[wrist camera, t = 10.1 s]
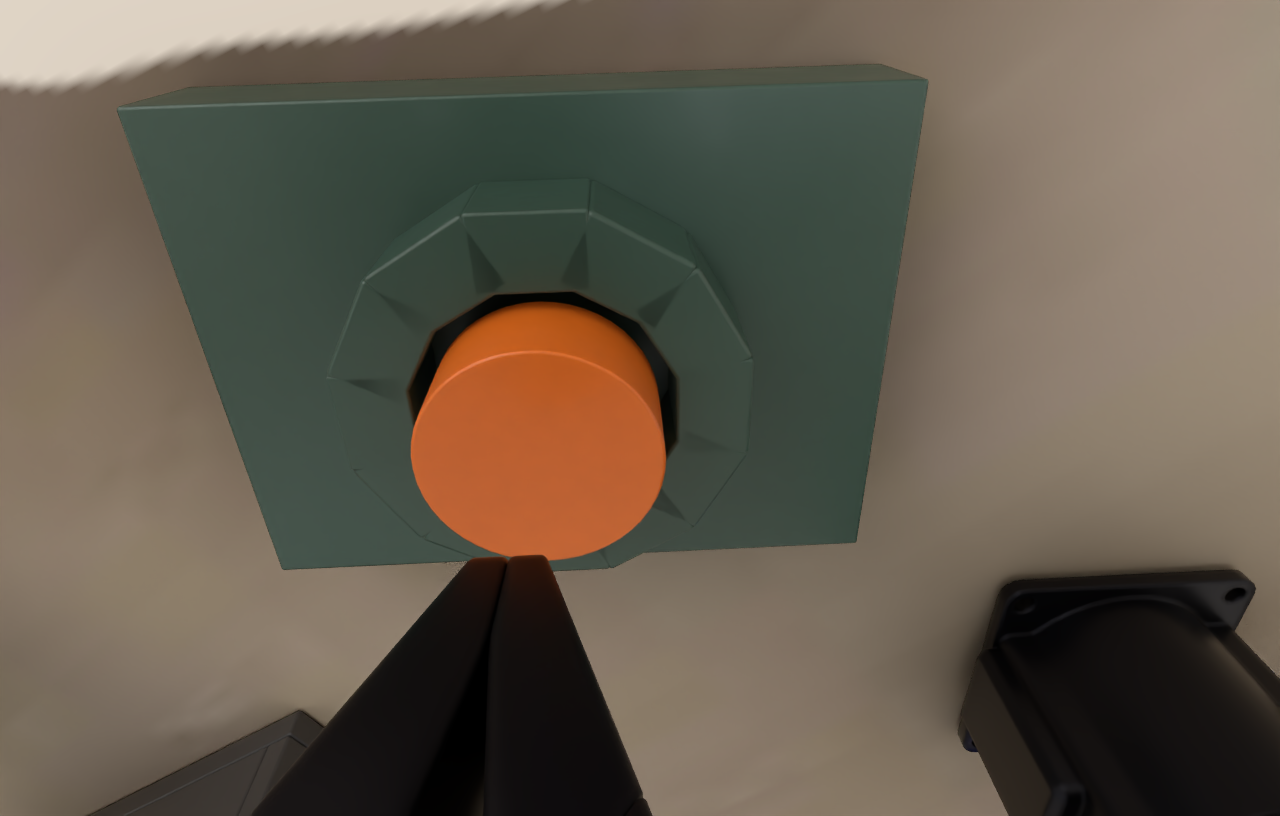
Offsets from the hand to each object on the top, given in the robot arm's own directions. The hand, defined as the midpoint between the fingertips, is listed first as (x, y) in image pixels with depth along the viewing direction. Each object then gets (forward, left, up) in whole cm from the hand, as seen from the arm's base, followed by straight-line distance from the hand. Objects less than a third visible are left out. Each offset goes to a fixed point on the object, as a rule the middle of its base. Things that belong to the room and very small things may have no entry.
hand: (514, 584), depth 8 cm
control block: (0, 0, -8) cm, 8 cm away
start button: (0, 0, -4) cm, 4 cm away
